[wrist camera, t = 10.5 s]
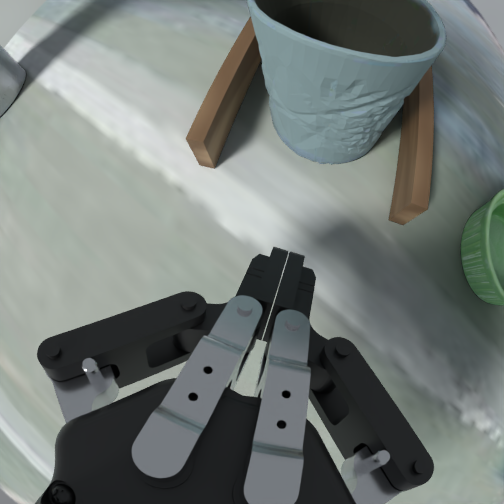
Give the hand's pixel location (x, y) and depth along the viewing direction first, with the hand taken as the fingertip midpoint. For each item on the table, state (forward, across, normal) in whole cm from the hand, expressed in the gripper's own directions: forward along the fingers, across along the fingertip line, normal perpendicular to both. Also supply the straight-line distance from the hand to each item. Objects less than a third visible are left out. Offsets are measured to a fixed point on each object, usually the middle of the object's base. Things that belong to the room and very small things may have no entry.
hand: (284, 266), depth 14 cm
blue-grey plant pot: (+13, 0, -5) cm, 14 cm away
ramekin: (+9, -17, 0) cm, 19 cm away
